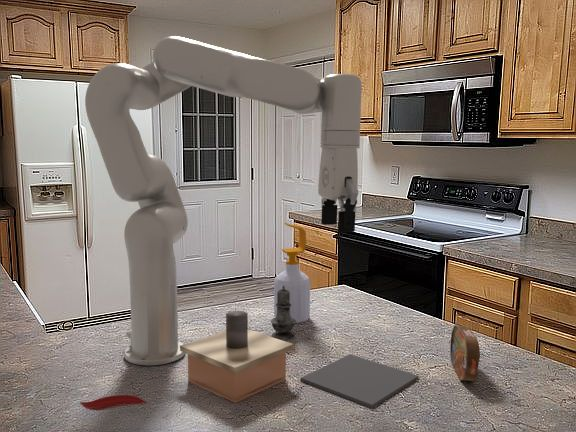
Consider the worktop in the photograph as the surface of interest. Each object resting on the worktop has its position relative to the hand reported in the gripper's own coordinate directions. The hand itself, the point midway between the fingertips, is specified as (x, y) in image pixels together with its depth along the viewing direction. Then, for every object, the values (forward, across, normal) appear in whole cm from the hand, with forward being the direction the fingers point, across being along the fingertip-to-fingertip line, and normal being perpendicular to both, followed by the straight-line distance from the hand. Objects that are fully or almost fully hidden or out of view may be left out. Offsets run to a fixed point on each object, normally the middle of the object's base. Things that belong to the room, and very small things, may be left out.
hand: (337, 228), depth 110 cm
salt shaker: (+28, -19, -6) cm, 34 cm away
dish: (+28, +3, -20) cm, 35 cm away
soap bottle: (+28, -30, 0) cm, 42 cm away
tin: (+28, +10, +24) cm, 38 cm away
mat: (+28, +8, +2) cm, 29 cm away
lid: (+22, +3, -20) cm, 30 cm away
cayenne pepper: (+29, +7, -43) cm, 52 cm away
